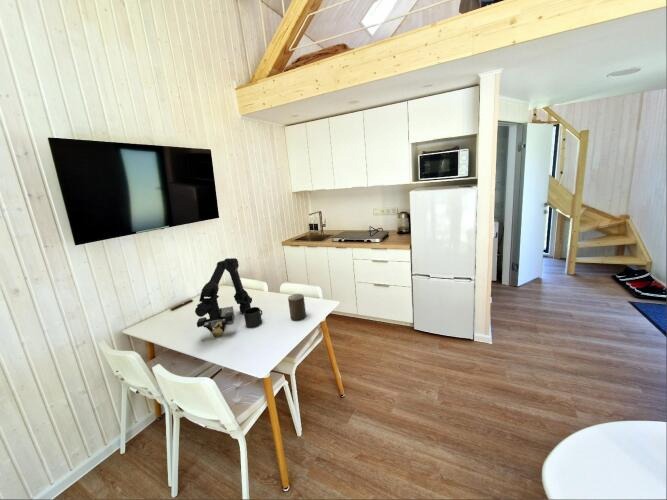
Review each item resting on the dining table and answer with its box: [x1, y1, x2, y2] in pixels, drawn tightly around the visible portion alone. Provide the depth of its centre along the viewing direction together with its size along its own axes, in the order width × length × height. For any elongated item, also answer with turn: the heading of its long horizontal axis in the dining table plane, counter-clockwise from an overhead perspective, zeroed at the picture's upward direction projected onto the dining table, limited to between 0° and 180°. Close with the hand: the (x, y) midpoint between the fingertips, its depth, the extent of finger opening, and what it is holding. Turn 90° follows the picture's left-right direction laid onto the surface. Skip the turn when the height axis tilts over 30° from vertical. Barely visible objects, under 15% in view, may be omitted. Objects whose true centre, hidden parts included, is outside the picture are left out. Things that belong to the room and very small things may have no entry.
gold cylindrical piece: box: [211, 320, 224, 339], centre depth 158 cm, size 14×6×6 cm, turn 13°
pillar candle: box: [287, 293, 307, 322], centre depth 167 cm, size 10×10×15 cm
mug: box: [243, 306, 263, 329], centre depth 165 cm, size 9×12×9 cm
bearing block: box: [211, 306, 236, 329], centre depth 170 cm, size 10×12×8 cm
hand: (218, 333), depth 154 cm, fingers closed on gold cylindrical piece, 5 cm apart
